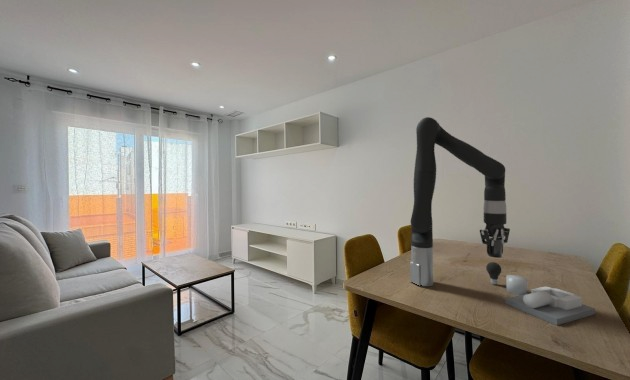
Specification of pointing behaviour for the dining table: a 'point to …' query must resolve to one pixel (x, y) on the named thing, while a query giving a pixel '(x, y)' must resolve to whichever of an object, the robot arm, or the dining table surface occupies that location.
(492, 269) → the light bulb
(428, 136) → the robot arm
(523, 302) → the socket block
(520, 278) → the cylinder
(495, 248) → the dark grey domed cylinder
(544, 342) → the dining table surface
